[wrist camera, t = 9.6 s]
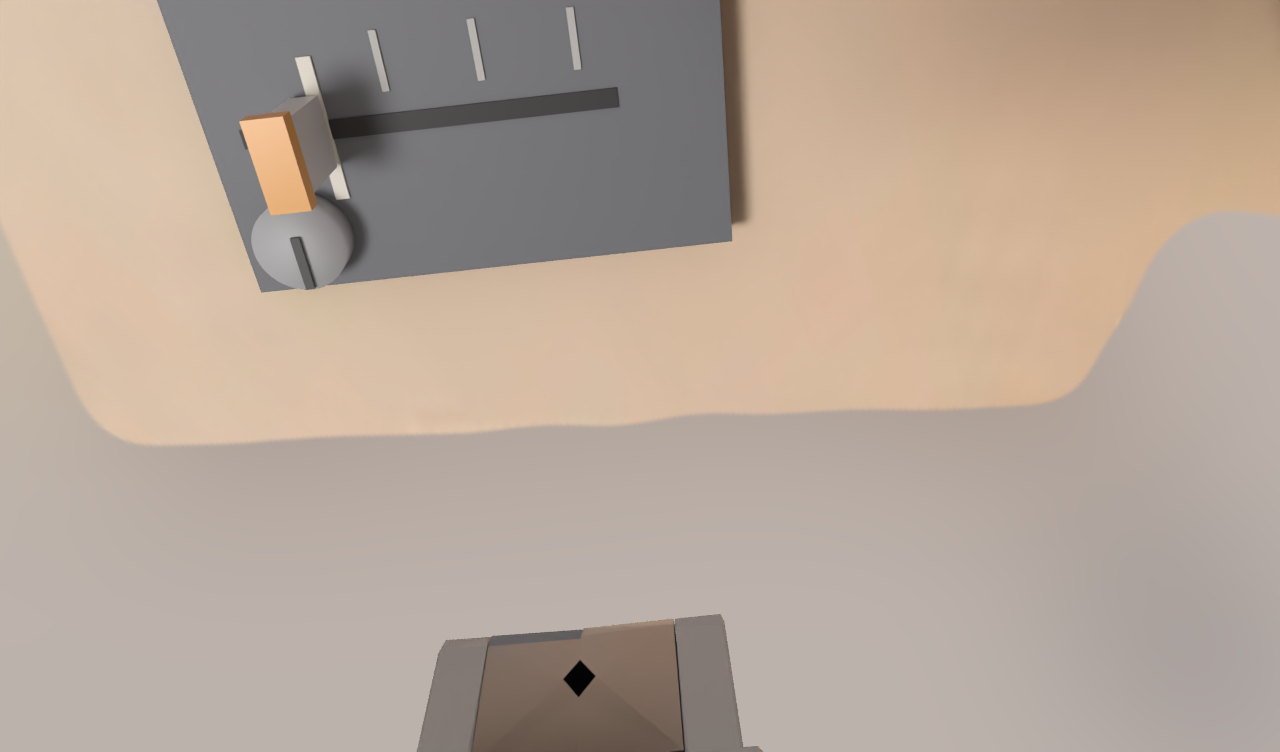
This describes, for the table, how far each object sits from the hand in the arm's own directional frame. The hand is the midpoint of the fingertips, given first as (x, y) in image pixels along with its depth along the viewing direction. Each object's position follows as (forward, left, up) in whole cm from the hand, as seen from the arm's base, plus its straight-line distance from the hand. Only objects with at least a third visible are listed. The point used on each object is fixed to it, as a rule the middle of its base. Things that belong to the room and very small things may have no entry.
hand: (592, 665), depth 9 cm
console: (+6, +1, -33) cm, 33 cm away
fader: (+12, +1, -31) cm, 33 cm away
